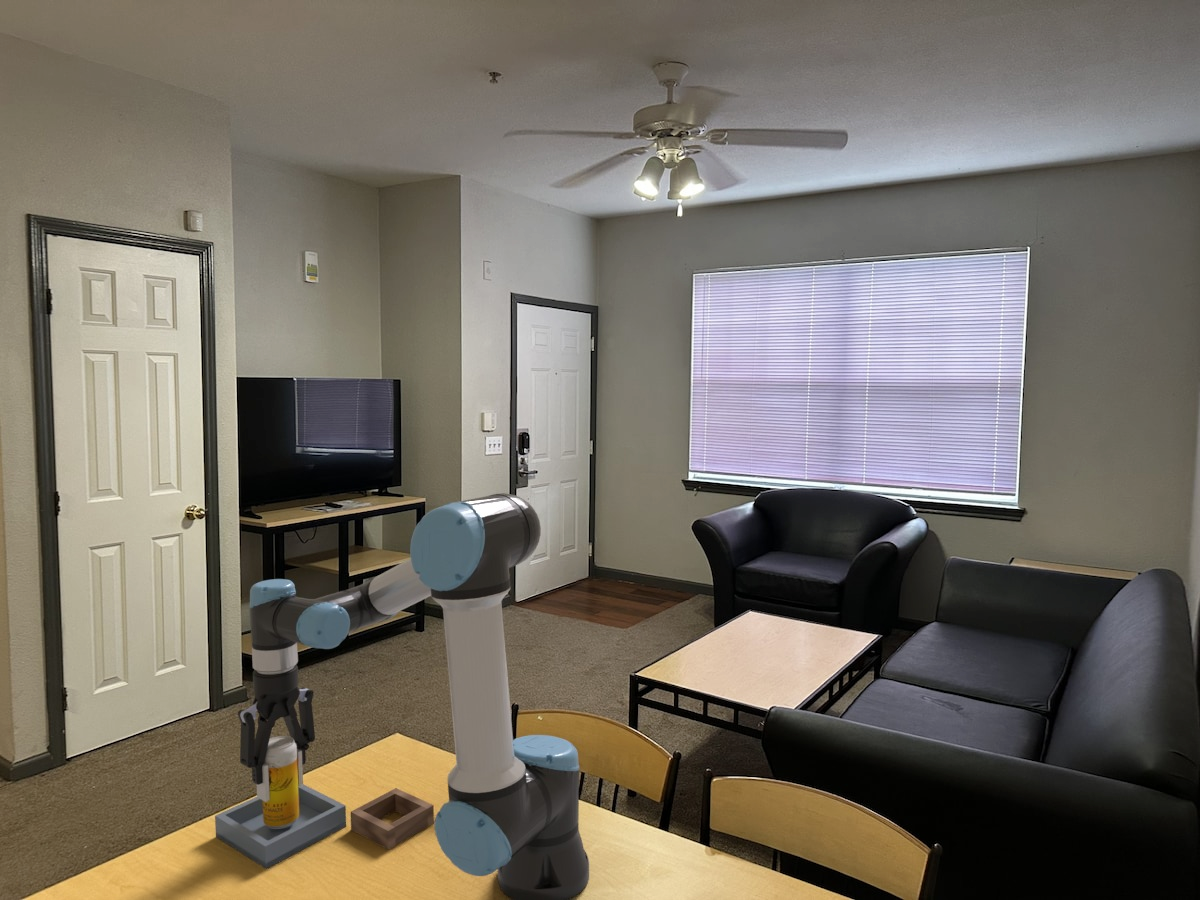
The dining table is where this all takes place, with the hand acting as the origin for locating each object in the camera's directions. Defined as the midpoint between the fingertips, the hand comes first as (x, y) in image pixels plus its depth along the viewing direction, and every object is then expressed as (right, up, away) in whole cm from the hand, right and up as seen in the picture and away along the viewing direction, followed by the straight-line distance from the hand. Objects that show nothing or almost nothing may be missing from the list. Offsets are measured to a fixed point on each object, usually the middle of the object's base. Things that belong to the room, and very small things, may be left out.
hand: (280, 790), depth 148 cm
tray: (0, -8, +1) cm, 8 cm away
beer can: (0, -6, +1) cm, 6 cm away
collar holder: (+20, -8, +3) cm, 21 cm away
